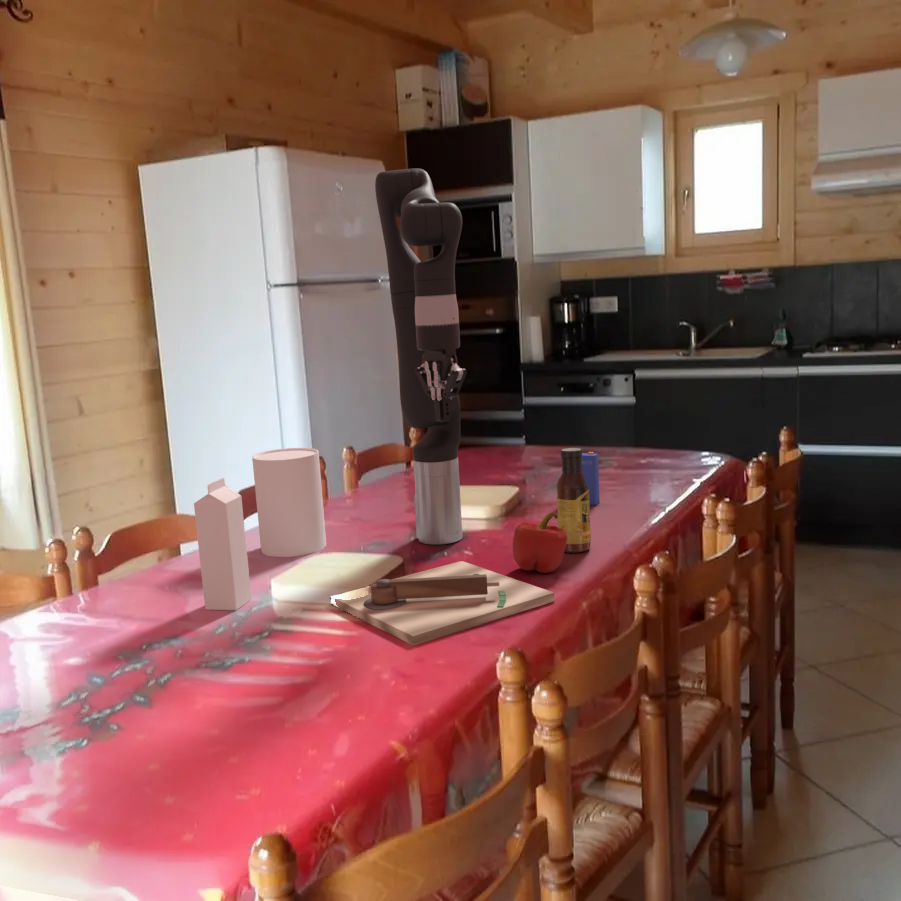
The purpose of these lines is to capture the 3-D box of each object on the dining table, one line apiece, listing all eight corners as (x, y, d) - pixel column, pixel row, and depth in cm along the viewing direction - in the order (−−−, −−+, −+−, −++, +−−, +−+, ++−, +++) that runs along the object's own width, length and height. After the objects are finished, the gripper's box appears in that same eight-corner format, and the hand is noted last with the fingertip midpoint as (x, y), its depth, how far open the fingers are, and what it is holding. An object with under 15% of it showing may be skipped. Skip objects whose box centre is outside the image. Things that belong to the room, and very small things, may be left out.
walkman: (599, 502, 227) (598, 452, 225) (595, 505, 225) (594, 454, 222) (567, 500, 231) (565, 451, 228) (563, 503, 228) (561, 453, 226)
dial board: (330, 604, 167) (329, 594, 166) (462, 568, 182) (461, 559, 182) (413, 645, 146) (412, 634, 145) (554, 601, 161) (554, 591, 161)
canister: (339, 544, 204) (331, 450, 201) (288, 560, 195) (279, 462, 191) (299, 535, 213) (291, 446, 210) (248, 550, 204) (238, 456, 200)
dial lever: (372, 596, 163) (371, 578, 163) (499, 589, 163) (498, 570, 162) (370, 605, 159) (369, 586, 158) (500, 597, 159) (499, 579, 158)
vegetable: (539, 557, 186) (536, 506, 185) (582, 566, 179) (580, 514, 177) (500, 572, 179) (497, 519, 177) (543, 582, 172) (541, 527, 170)
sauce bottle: (590, 554, 187) (586, 452, 183) (557, 554, 188) (553, 453, 184) (592, 544, 193) (588, 446, 189) (560, 544, 194) (556, 446, 191)
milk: (205, 610, 168) (190, 485, 164) (221, 598, 173) (207, 477, 170) (237, 610, 166) (223, 484, 162) (252, 598, 172) (239, 477, 168)
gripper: (477, 320, 165) (483, 421, 168) (433, 320, 176) (439, 415, 179) (441, 323, 161) (447, 427, 164) (398, 323, 171) (405, 420, 174)
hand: (443, 420), depth 171 cm, fingers closed
